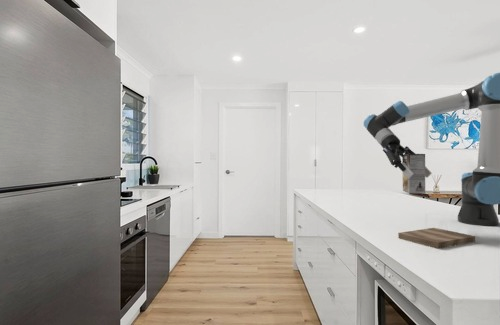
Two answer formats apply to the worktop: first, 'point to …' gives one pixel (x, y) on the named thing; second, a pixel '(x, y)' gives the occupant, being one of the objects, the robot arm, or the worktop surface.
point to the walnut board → (436, 237)
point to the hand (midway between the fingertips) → (420, 175)
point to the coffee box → (418, 168)
